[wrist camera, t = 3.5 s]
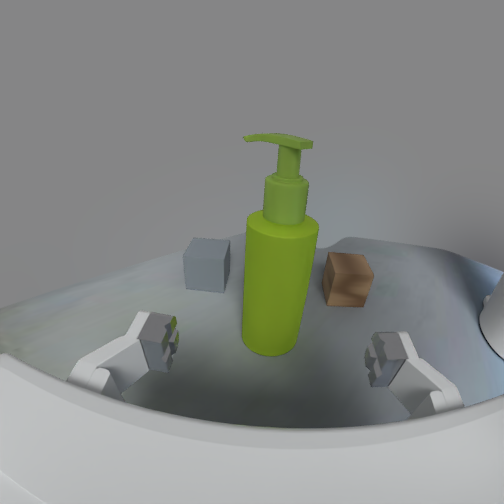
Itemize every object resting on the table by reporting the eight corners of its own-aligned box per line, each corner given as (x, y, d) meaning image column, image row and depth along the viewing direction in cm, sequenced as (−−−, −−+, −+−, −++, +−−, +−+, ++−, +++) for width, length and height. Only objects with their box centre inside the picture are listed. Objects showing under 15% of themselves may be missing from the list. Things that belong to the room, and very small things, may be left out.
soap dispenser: (258, 306, 33) (272, 130, 23) (306, 334, 29) (343, 142, 20) (223, 331, 29) (224, 132, 19) (274, 365, 25) (305, 143, 16)
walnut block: (354, 285, 38) (363, 254, 36) (363, 307, 34) (374, 275, 31) (321, 283, 38) (328, 252, 36) (326, 306, 34) (335, 272, 31)
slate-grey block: (229, 271, 40) (230, 240, 37) (224, 293, 35) (223, 259, 33) (195, 268, 40) (193, 237, 37) (186, 289, 35) (183, 256, 33)
